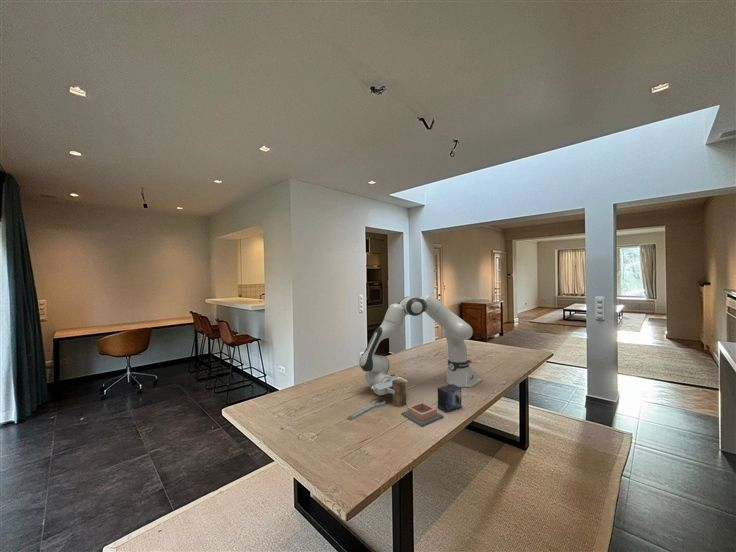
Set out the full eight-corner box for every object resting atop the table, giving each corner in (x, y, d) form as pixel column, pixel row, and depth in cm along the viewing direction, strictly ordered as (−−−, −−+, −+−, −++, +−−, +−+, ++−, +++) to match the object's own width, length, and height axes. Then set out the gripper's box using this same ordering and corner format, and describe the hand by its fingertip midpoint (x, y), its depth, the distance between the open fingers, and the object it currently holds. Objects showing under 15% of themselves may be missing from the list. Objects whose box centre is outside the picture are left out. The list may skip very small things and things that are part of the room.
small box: (445, 413, 141) (445, 391, 141) (437, 408, 147) (436, 387, 147) (462, 408, 145) (461, 387, 145) (453, 403, 151) (452, 383, 151)
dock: (422, 407, 148) (422, 399, 148) (443, 417, 136) (443, 409, 136) (401, 414, 140) (401, 406, 140) (421, 427, 128) (421, 418, 129)
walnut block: (400, 400, 156) (399, 378, 156) (406, 404, 152) (405, 381, 152) (392, 403, 153) (392, 380, 153) (398, 406, 149) (398, 383, 149)
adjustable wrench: (350, 422, 136) (350, 418, 136) (342, 417, 141) (341, 413, 141) (387, 404, 152) (387, 401, 152) (379, 401, 157) (378, 397, 157)
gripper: (368, 381, 157) (384, 389, 146) (398, 373, 169) (414, 380, 157) (369, 393, 157) (384, 402, 146) (398, 384, 169) (414, 392, 157)
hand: (400, 390), depth 152 cm, fingers closed on walnut block, 5 cm apart
